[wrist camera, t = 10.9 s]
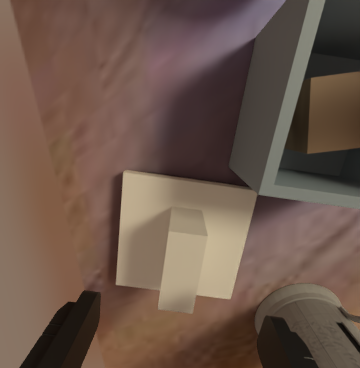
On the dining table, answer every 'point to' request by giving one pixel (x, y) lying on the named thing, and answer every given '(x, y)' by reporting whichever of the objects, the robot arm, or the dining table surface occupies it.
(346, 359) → the glass holder
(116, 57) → the dining table surface
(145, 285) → the lid
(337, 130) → the walnut block
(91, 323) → the robot arm
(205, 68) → the dining table surface
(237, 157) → the tin box
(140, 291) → the dining table surface
